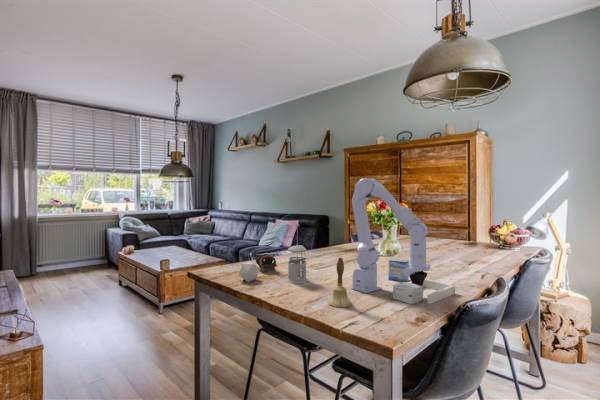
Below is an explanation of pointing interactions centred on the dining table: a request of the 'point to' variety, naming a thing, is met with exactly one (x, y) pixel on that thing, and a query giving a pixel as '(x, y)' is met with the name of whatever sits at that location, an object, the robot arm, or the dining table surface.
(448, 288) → the u-shaped frame
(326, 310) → the dining table surface
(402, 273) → the medicine box
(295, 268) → the french press
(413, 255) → the robot arm
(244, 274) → the die
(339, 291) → the hand bell
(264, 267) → the pottery mug
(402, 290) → the small box
